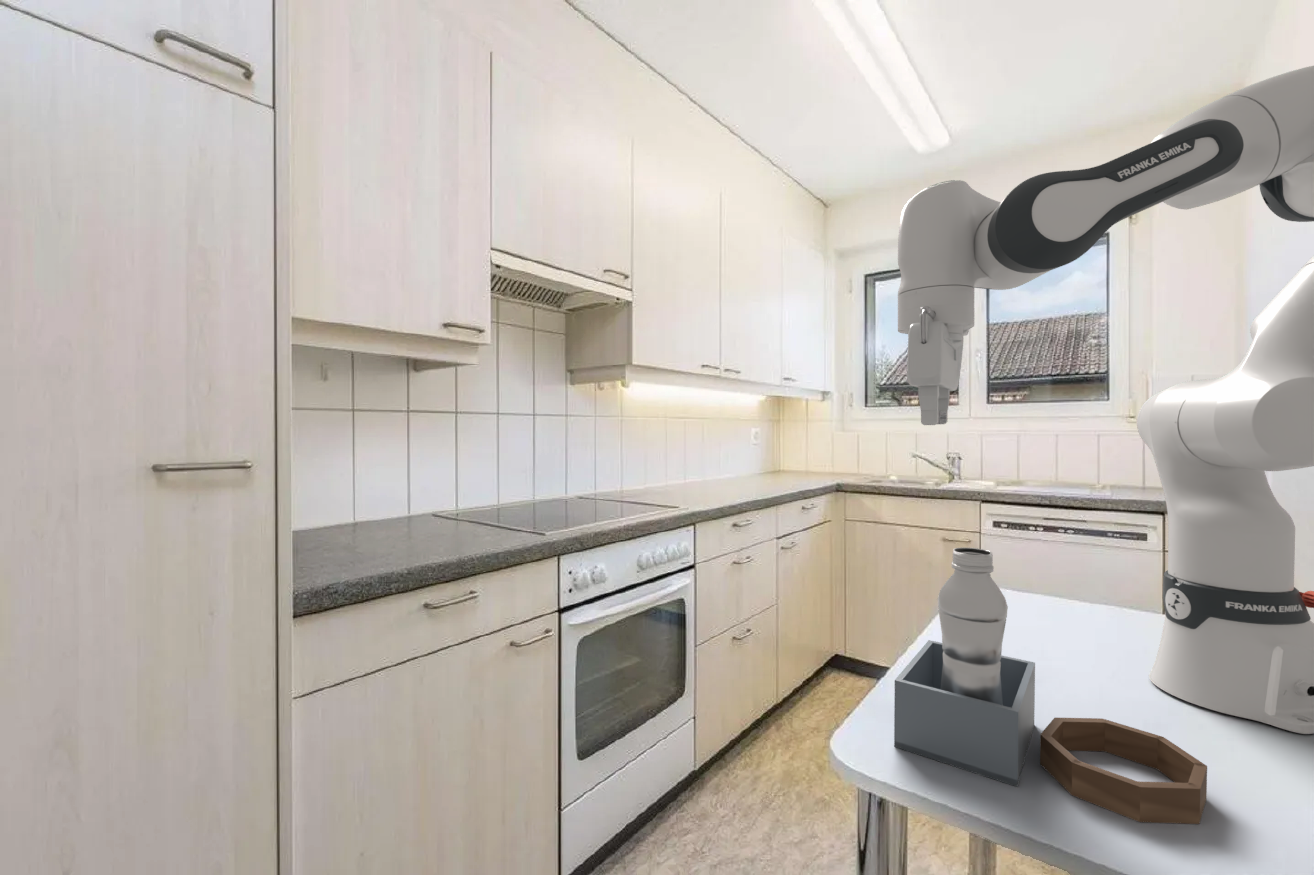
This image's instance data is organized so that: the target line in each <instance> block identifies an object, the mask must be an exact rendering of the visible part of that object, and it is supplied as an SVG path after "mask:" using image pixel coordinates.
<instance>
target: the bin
mask: <svg viewBox="0 0 1314 875" xmlns="http://www.w3.org/2000/svg"><path fill="white" fill-rule="evenodd" d="M1000 662H1001V667H1000V676H1001V689H1002V702H1003V703H1002V704H1003V705H999V704H995V703H991V702H987V701H983V700H979V699H976V698H972V697H968V696H964V695H960V694H956V693H952V692H948V691H944V690H940V688H941V678H942V668H943V648H942V642H939V641H936V640H935V641H934V640H929V639H928V640H927V641H926V643H925V644H924V645H923V646H922V647H921V649H920V650H919V651H918V652H917V653H916V654H915V656H914V657H913V658H912V659H911V661H910V662H909V663H908V664H907V665H906V666H905V667H904V668H903V670H902V671H901V672H900V673H899V674H898V675H897V677H896V678H895V679H894V706H893V708H894V709H893V710H894V718H893V719H894V724H893V726H894V729H893V731H894V733H893V735H894V736H893V738H894V739H893V740H894V742H893V746H894V747H895V748H898V749H900V750H904V751H906V752H909V753H913V754H916V755H919V756H921V757H925V758H928V759H932V760H934V761H937V762H940V763H944V764H946V765H950V766H953V767H955V768H959V769H962V770H964V771H968V772H970V773H974V774H977V775H980V776H983V777H986V778H989V779H992V780H996V781H998V782H1001V783H1004V784H1007V785H1011V786H1014V787H1017V788H1018V786H1019V782H1020V779H1021V776H1022V771H1023V768H1024V764H1025V760H1026V757H1027V752H1028V749H1029V746H1030V742H1031V738H1032V735H1033V730H1034V727H1035V703H1036V702H1035V700H1036V699H1035V698H1036V696H1035V695H1036V694H1035V693H1036V691H1035V690H1036V662H1034V661H1030V660H1025V659H1019V658H1015V657H1010V656H1006V655H1002V654H1001V660H1000Z"/></svg>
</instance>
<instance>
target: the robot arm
mask: <svg viewBox="0 0 1314 875" xmlns="http://www.w3.org/2000/svg"><path fill="white" fill-rule="evenodd" d="M1258 186H1259V192H1260V194H1261V197H1262V199H1263V201H1264V203H1265V205H1266V206H1267V208H1268V209H1269V210H1270V211H1271V212H1272V213H1273V214H1274V215H1276V216H1277V217H1279V218H1280V219H1282V220H1285V221H1289V222H1296V223H1297V222H1298V223H1302V222H1303V223H1307V222H1308V223H1310V222H1311V223H1312V222H1314V65H1310V66H1306V67H1301V68H1298V69H1295V70H1291V71H1288V72H1285V73H1281V74H1277V75H1276V76H1275V75H1274V76H1273V77H1269V78H1266V79H1263V80H1261V81H1258V82H1256V83H1253V84H1250V85H1247V86H1245V87H1243V88H1239V89H1238V90H1236V91H1233V92H1231V93H1229V94H1227V95H1224V96H1222V97H1220V98H1218V99H1215V100H1214V101H1211V102H1209V103H1207V104H1206V105H1203V106H1202V107H1200V108H1198V109H1196V110H1194V111H1193V112H1191V113H1189V114H1188V115H1185V116H1184V117H1182V118H1180V119H1179V120H1177V121H1176V122H1175V123H1173V124H1171V125H1170V126H1169V127H1167V128H1166V129H1164V130H1163V131H1162V132H1160V133H1159V134H1158V135H1156V136H1155V137H1154V138H1153V139H1152V141H1150V143H1148V144H1146V145H1144V146H1141V147H1139V148H1136V149H1135V150H1132V151H1130V152H1128V153H1126V154H1123V155H1121V156H1118V157H1117V158H1114V159H1111V160H1110V161H1107V162H1105V163H1102V164H1099V165H1096V166H1093V167H1088V168H1083V169H1082V168H1081V169H1073V170H1072V169H1071V170H1062V171H1061V170H1059V171H1052V172H1051V171H1050V172H1045V173H1042V174H1041V173H1040V174H1037V175H1034V176H1032V177H1029V178H1028V179H1025V180H1024V181H1022V182H1021V183H1019V184H1018V185H1016V186H1014V188H1012V189H1011V191H1010V192H1009V193H1008V194H1007V195H1006V196H1005V198H1004V199H1002V201H998V200H996V199H992V198H990V197H987V196H986V195H983V194H981V193H980V192H978V191H976V190H975V189H973V188H972V186H970V184H968V182H967V181H964V180H961V179H960V180H954V179H953V180H945V181H941V182H939V183H935V184H933V185H929V186H927V187H925V188H924V189H922V190H919V191H918V192H917V193H915V194H914V195H913V196H912V197H911V198H909V200H908V201H907V203H906V204H905V205H904V207H903V209H902V210H901V215H900V220H899V227H898V238H897V240H898V242H897V265H898V268H899V271H900V284H899V288H898V292H897V332H898V333H900V334H902V335H903V334H905V335H907V337H908V339H907V361H906V362H907V367H906V369H907V370H906V374H907V375H906V376H907V380H908V384H909V386H912V387H915V388H917V389H918V390H917V391H918V392H917V394H918V396H917V397H918V403H919V407H920V423H921V425H923V426H935V425H946V424H947V423H948V417H949V415H948V413H949V411H948V410H949V405H950V398H951V396H950V393H951V392H953V391H957V389H958V386H959V383H960V379H961V370H962V369H961V368H962V360H963V351H964V350H963V349H964V336H968V334H969V331H970V329H973V327H975V289H981V290H982V289H983V290H995V291H996V290H997V291H1005V290H1012V289H1016V288H1018V287H1021V286H1023V285H1026V284H1027V283H1029V282H1031V281H1033V280H1035V279H1036V278H1039V277H1041V276H1042V275H1045V274H1047V273H1048V272H1050V271H1053V270H1056V269H1059V268H1061V267H1063V266H1066V265H1069V264H1070V263H1073V262H1074V261H1076V260H1078V259H1079V258H1081V257H1082V256H1083V255H1085V253H1087V252H1088V251H1089V250H1090V249H1091V248H1092V247H1093V246H1094V245H1095V244H1096V243H1097V242H1098V241H1099V240H1100V239H1101V238H1102V236H1104V234H1105V233H1107V231H1108V230H1109V229H1110V228H1111V227H1113V226H1114V225H1115V224H1118V223H1119V222H1120V221H1123V220H1125V219H1127V218H1130V217H1132V216H1135V215H1136V214H1139V213H1141V212H1143V211H1145V210H1148V209H1150V208H1153V207H1154V206H1157V205H1159V204H1162V203H1164V204H1165V205H1167V206H1170V207H1172V208H1175V209H1180V210H1191V209H1196V208H1198V207H1201V206H1202V207H1204V206H1207V205H1210V204H1214V203H1216V202H1219V201H1222V200H1226V199H1228V198H1231V197H1233V196H1236V195H1238V194H1241V193H1243V192H1246V191H1248V190H1250V189H1253V188H1255V187H1258ZM1249 331H1250V332H1249V333H1250V337H1251V340H1252V341H1251V343H1250V345H1249V347H1248V349H1247V350H1246V353H1245V354H1244V355H1243V357H1242V360H1241V361H1240V362H1239V363H1238V365H1236V366H1235V367H1234V368H1233V369H1232V370H1230V371H1229V372H1227V373H1226V374H1224V375H1222V376H1221V377H1216V378H1207V379H1196V380H1187V381H1183V382H1179V383H1177V384H1174V385H1172V386H1170V387H1167V388H1165V389H1163V390H1161V391H1158V392H1157V393H1155V394H1153V395H1151V396H1150V397H1149V398H1148V399H1146V401H1145V402H1144V403H1143V404H1142V405H1141V407H1140V409H1139V411H1138V414H1137V416H1136V417H1137V418H1136V428H1137V429H1136V430H1137V432H1138V435H1139V437H1140V439H1141V440H1142V441H1143V442H1144V444H1146V446H1147V447H1148V449H1149V450H1150V452H1151V454H1152V457H1153V459H1154V463H1155V466H1156V469H1157V472H1158V473H1157V474H1158V476H1159V480H1160V484H1161V487H1162V491H1163V496H1164V498H1165V499H1164V500H1165V504H1166V511H1167V521H1168V522H1167V523H1168V524H1167V527H1168V528H1167V530H1168V531H1167V533H1168V534H1167V535H1168V536H1167V538H1168V539H1167V544H1168V546H1167V549H1168V552H1167V553H1168V554H1167V557H1168V558H1167V570H1166V571H1164V572H1163V577H1162V578H1163V580H1162V601H1163V602H1162V603H1163V609H1164V614H1165V615H1164V621H1163V627H1162V632H1161V637H1160V642H1159V647H1158V649H1157V653H1156V656H1155V660H1154V663H1153V665H1152V668H1151V670H1150V671H1149V674H1148V678H1149V680H1150V681H1151V682H1152V683H1153V684H1154V685H1155V686H1156V687H1158V688H1159V689H1161V690H1163V691H1164V692H1166V693H1167V694H1169V695H1172V696H1174V697H1176V698H1178V699H1180V700H1183V701H1185V702H1188V703H1191V704H1193V705H1196V706H1199V707H1202V708H1205V709H1208V710H1211V711H1215V712H1218V713H1222V714H1226V715H1230V716H1235V717H1238V718H1243V719H1248V720H1252V721H1256V722H1260V723H1263V724H1267V725H1269V726H1270V725H1271V726H1272V727H1275V728H1279V729H1282V730H1286V731H1289V732H1293V733H1297V734H1303V735H1311V734H1314V622H1312V621H1311V620H1312V619H1311V616H1310V614H1309V611H1308V608H1311V609H1312V608H1313V609H1314V591H1313V590H1307V591H1305V592H1302V591H1300V590H1298V589H1297V588H1296V587H1295V555H1296V554H1295V553H1296V552H1295V550H1296V526H1295V522H1294V520H1293V518H1292V517H1291V515H1290V513H1288V511H1287V510H1286V509H1285V508H1284V507H1282V505H1281V504H1280V503H1279V502H1278V500H1277V498H1276V497H1275V495H1274V493H1273V491H1272V489H1271V487H1270V485H1269V484H1270V483H1269V481H1268V478H1267V475H1266V472H1281V471H1290V470H1297V469H1298V470H1299V469H1304V468H1311V467H1314V255H1312V257H1310V258H1309V259H1308V261H1307V262H1306V263H1305V264H1304V265H1303V266H1302V267H1301V268H1300V269H1299V270H1298V271H1297V272H1296V273H1295V274H1294V275H1293V276H1292V277H1291V278H1290V279H1289V281H1287V283H1286V284H1285V285H1284V286H1283V287H1282V288H1281V289H1280V290H1279V292H1277V293H1276V295H1275V296H1274V297H1273V298H1272V299H1271V300H1270V301H1269V302H1268V303H1267V304H1266V306H1265V307H1264V308H1262V310H1261V311H1260V312H1259V313H1258V314H1257V315H1256V316H1255V317H1254V319H1253V321H1252V322H1251V325H1250V329H1249Z"/></svg>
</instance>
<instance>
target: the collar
mask: <svg viewBox="0 0 1314 875" xmlns="http://www.w3.org/2000/svg"><path fill="white" fill-rule="evenodd" d="M1039 738H1040V740H1039V742H1040V747H1039V765H1040V766H1041V767H1042V768H1043V769H1044V770H1046V772H1047V773H1048V774H1049V775H1050V776H1051V777H1052V778H1053V779H1055V781H1057V783H1059V784H1060V786H1062V787H1063V788H1064V789H1065V790H1066V791H1067V793H1069V794H1070V795H1071V796H1073V797H1075V798H1078V799H1080V800H1083V801H1086V802H1088V803H1091V804H1092V805H1093V804H1094V805H1096V806H1099V807H1101V808H1102V809H1106V810H1107V811H1111V812H1114V813H1115V814H1118V815H1120V816H1123V817H1126V818H1128V819H1131V820H1133V821H1136V822H1138V823H1159V824H1163V823H1164V824H1186V825H1189V824H1191V825H1194V824H1195V825H1200V824H1201V820H1202V816H1203V812H1204V809H1205V805H1206V801H1207V799H1208V798H1207V795H1208V794H1207V793H1208V792H1207V791H1208V790H1207V789H1208V788H1207V787H1208V786H1207V785H1208V782H1207V781H1208V766H1207V765H1206V764H1205V763H1203V762H1202V761H1200V760H1199V759H1197V758H1196V757H1195V756H1193V755H1191V754H1190V753H1188V752H1187V751H1185V750H1184V749H1182V748H1180V747H1179V746H1178V745H1177V744H1175V743H1173V742H1172V741H1170V740H1169V739H1168V738H1166V737H1164V736H1162V735H1158V734H1155V733H1152V732H1149V731H1145V730H1142V729H1139V728H1136V727H1132V726H1129V725H1126V724H1121V723H1118V722H1116V721H1111V720H1109V719H1106V718H1098V717H1097V718H1095V717H1094V718H1093V717H1091V718H1090V717H1089V718H1087V717H1054V718H1053V719H1052V720H1051V721H1050V722H1049V724H1048V725H1047V726H1046V727H1045V728H1044V730H1042V732H1041V733H1040V736H1039ZM1070 751H1074V752H1075V751H1078V752H1081V751H1082V752H1105V753H1108V754H1110V755H1114V756H1116V757H1117V756H1118V757H1120V758H1123V759H1125V760H1130V761H1131V762H1134V763H1139V764H1141V765H1143V766H1147V767H1150V768H1152V769H1156V770H1158V771H1159V772H1160V773H1162V774H1163V775H1164V776H1166V778H1169V780H1171V781H1172V782H1170V781H1169V782H1168V781H1162V782H1161V781H1137V780H1135V779H1132V778H1129V777H1126V776H1124V775H1120V774H1117V773H1115V772H1112V771H1109V770H1106V769H1103V768H1101V767H1098V766H1095V765H1093V764H1089V763H1088V762H1084V761H1081V760H1079V759H1078V758H1077V757H1076V756H1074V755H1073V754H1072V752H1070Z"/></svg>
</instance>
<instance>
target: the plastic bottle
mask: <svg viewBox="0 0 1314 875" xmlns="http://www.w3.org/2000/svg"><path fill="white" fill-rule="evenodd" d="M951 568H952V569H953V570H954V572H953V574H951V575H950V577H949V578H947V580H946V581H945V583H944V584H943V586H942V587H941V588H940V590H939V593H938V596H937V608H938V616H939V623H940V630H941V643H942V648H943V668H942V678H941V688H940V690H944V691H948V692H952V693H956V694H960V695H964V696H968V697H972V698H976V699H979V700H983V701H987V702H991V703H995V704H999V705H1003V704H1002V703H1003V702H1002V689H1001V676H1000V667H1001V662H1000V660H1001V655H1002V652H1003V651H1002V650H1003V640H1004V635H1005V628H1006V623H1007V618H1008V607H1009V606H1008V604H1007V600H1006V597H1005V595H1004V594H1003V592H1002V591H1001V589H1000V587H999V586H998V584H997V582H996V581H995V580H994V579H993V578H992V576H991V573H993V572H995V571H994V568H995V567H994V565H993V552H992V551H990V550H987V549H983V548H978V547H965V546H964V547H963V546H962V547H955V548H953V549H952V561H951Z"/></svg>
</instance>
